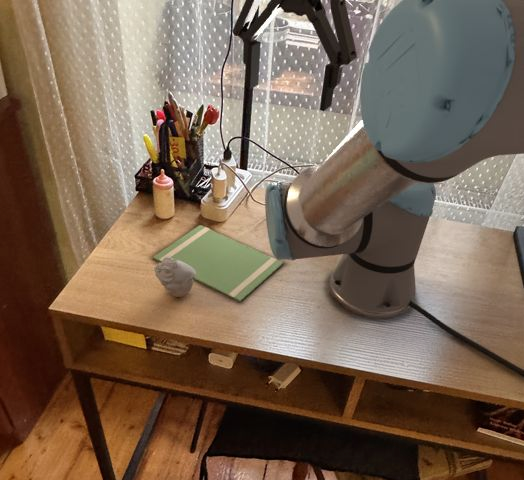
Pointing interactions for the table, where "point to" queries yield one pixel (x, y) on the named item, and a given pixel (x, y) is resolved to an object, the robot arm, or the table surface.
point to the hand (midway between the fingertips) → (287, 97)
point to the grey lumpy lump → (175, 276)
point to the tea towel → (222, 262)
